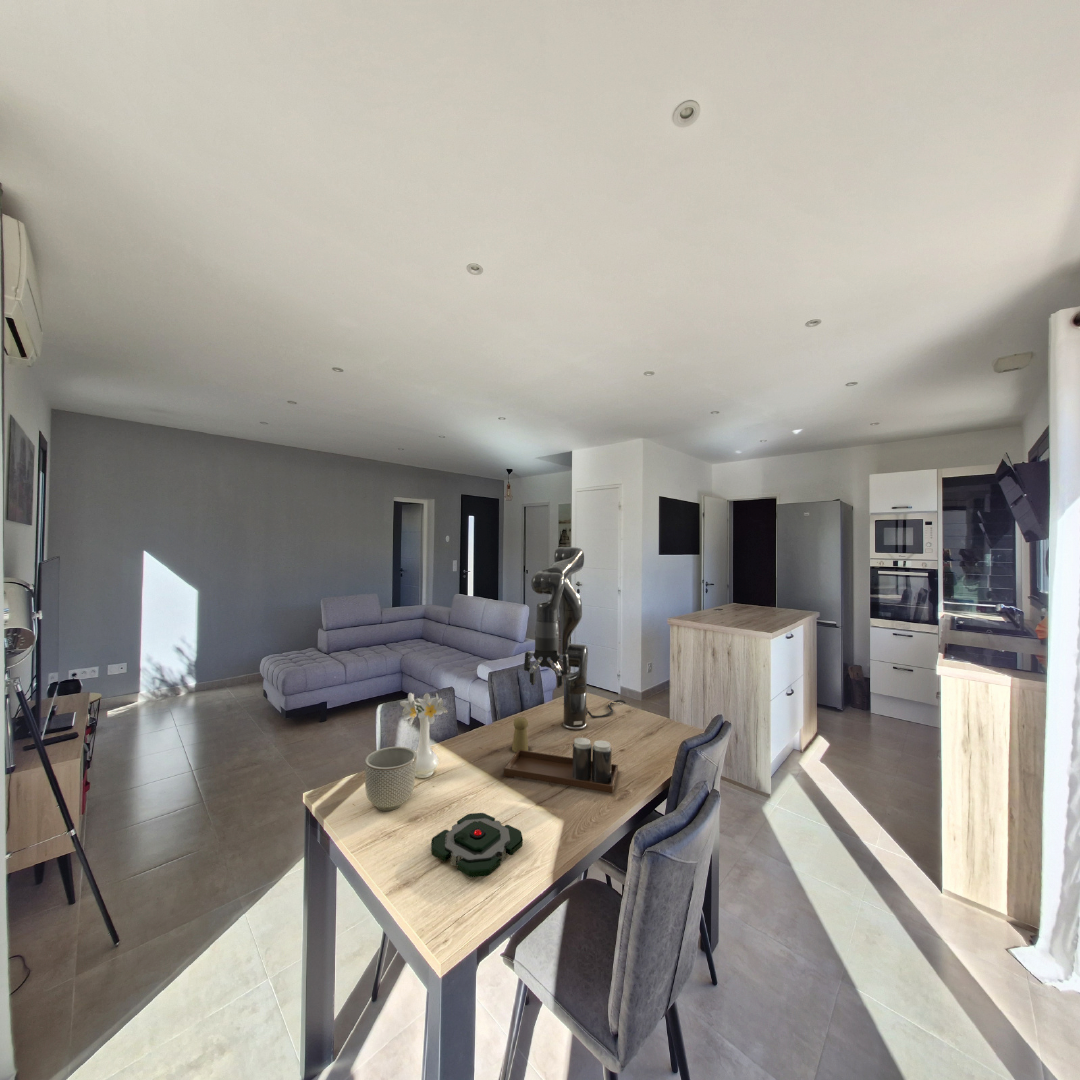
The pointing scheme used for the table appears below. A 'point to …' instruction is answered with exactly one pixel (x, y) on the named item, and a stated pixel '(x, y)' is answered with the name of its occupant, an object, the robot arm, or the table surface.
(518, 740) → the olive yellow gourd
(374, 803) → the planter
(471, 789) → the table surface
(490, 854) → the flat green button pad
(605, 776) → the black shaker
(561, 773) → the tray
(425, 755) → the flower vase
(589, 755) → the cylinder
